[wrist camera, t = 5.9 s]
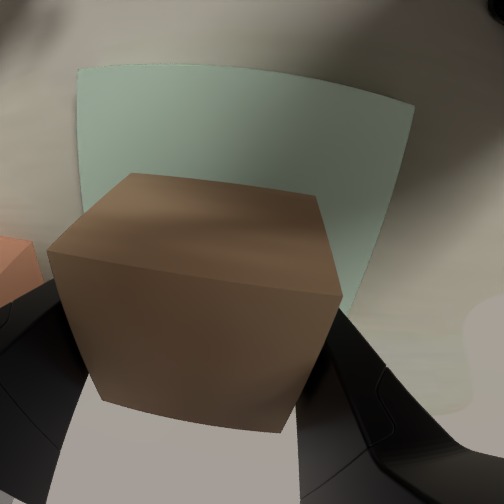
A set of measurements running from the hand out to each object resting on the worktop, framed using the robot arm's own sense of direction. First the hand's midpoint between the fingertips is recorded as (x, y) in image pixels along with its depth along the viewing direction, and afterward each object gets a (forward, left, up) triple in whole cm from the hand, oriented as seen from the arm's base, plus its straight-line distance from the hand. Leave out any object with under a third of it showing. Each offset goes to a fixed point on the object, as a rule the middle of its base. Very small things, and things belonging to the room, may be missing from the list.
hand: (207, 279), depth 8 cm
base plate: (0, 0, -4) cm, 4 cm away
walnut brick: (0, 0, -1) cm, 1 cm away
